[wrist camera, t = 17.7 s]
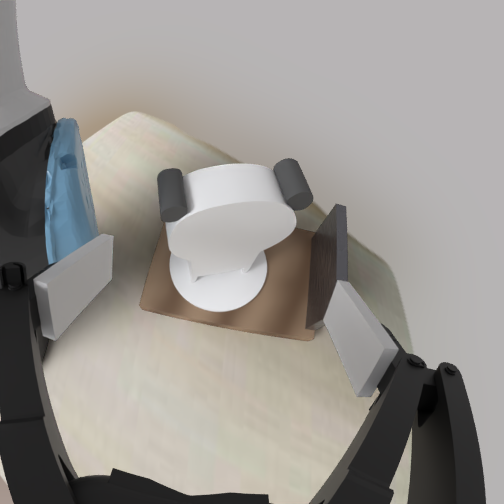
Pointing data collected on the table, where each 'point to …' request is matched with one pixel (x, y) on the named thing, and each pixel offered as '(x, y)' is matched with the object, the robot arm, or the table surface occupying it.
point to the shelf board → (260, 307)
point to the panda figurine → (227, 227)
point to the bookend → (326, 265)
